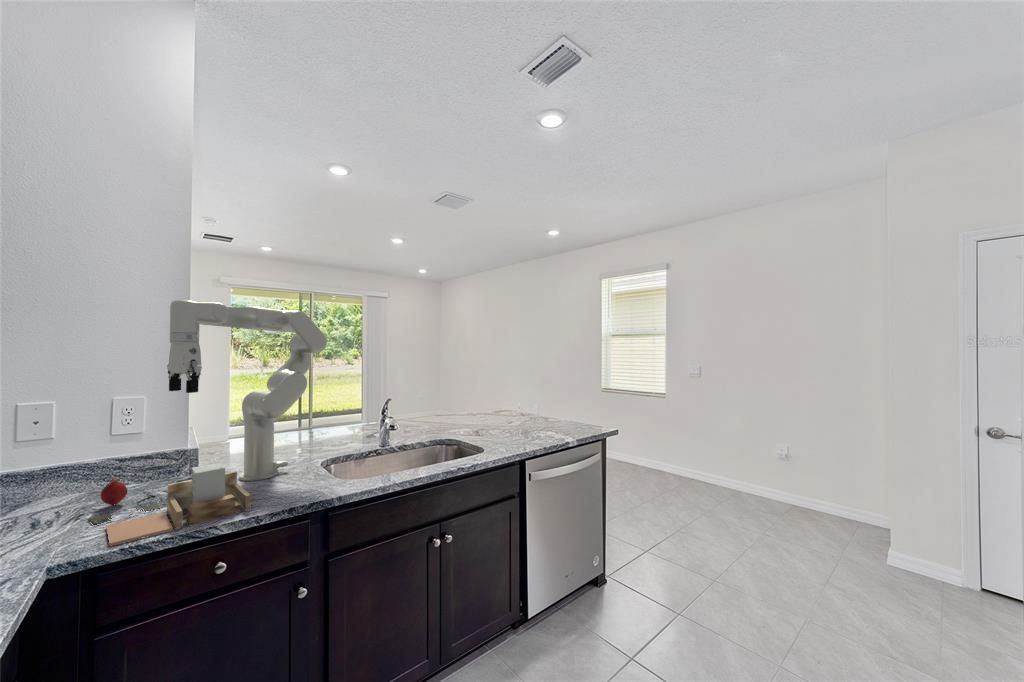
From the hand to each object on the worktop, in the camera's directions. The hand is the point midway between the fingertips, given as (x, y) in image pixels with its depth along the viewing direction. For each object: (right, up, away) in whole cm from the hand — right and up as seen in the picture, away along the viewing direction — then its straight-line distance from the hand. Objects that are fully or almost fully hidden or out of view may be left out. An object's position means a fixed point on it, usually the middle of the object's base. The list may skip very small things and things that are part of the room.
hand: (183, 391), depth 133 cm
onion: (-15, -34, -8) cm, 38 cm away
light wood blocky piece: (+17, -34, -11) cm, 39 cm away
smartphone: (-6, -34, -14) cm, 37 cm away
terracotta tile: (+7, -34, -24) cm, 42 cm away
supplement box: (+16, -34, -10) cm, 39 cm away
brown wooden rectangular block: (+21, -34, -15) cm, 43 cm away
